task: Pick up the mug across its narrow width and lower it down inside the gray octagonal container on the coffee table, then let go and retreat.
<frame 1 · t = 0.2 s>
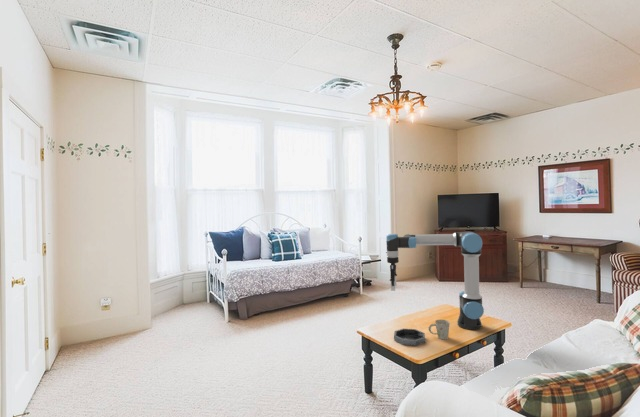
hand: (393, 287, 227), 28 cm above the table, fingers open, 13 cm apart
mug: (439, 337, 209), on the table
gray octagonal container: (409, 339, 209), on the table
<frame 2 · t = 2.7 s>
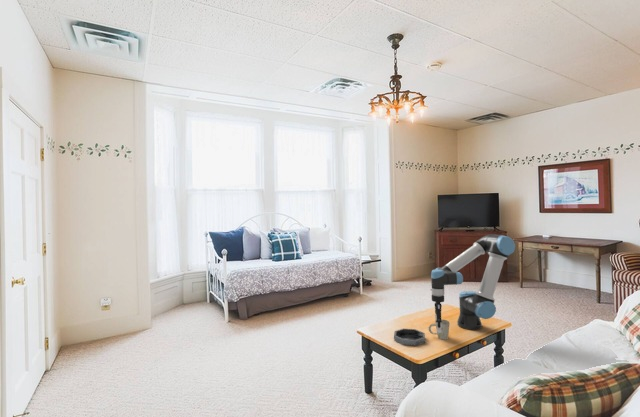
hand: (438, 328, 209), 6 cm above the table, fingers open, 13 cm apart
nothing on the table moved.
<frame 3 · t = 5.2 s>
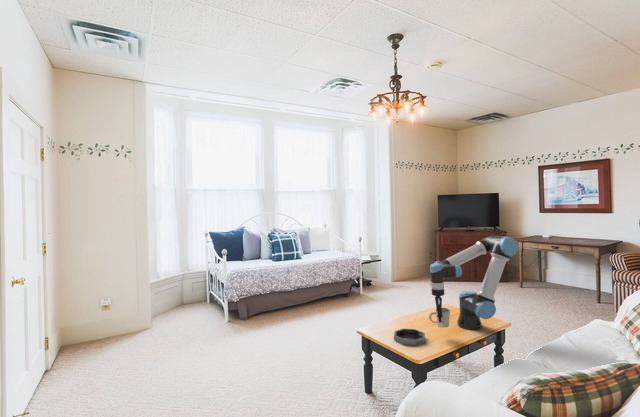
hand: (440, 325, 209), 8 cm above the table, fingers closed on mug, 6 cm apart
mug: (440, 325, 209), point 7 cm above the table, touching gripper
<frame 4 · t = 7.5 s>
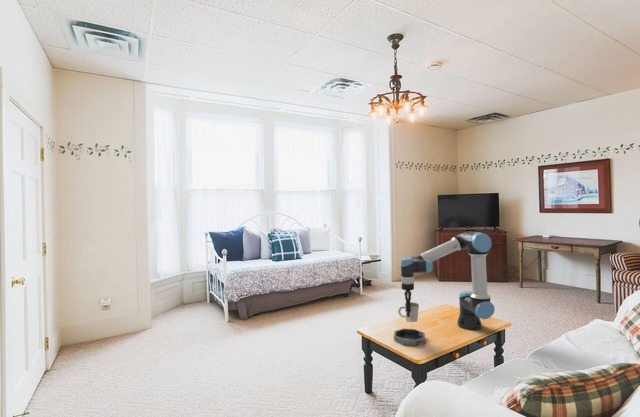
hand: (408, 319, 208), 12 cm above the table, fingers closed on mug, 6 cm apart
mug: (408, 320, 208), point 12 cm above the table, touching gripper
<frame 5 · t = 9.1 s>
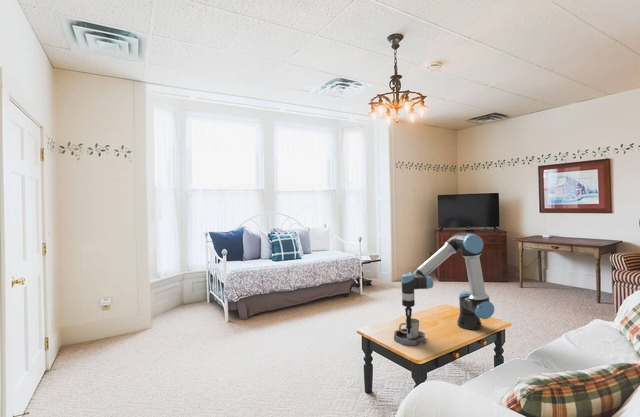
hand: (409, 335, 208), 2 cm above the table, fingers closed on mug, 6 cm apart
mug: (409, 336, 208), point 2 cm above the table, touching gripper
when the fingers open (1 cm above the table, at t = 10.0 s): mug stays where it is, resting on gray octagonal container.
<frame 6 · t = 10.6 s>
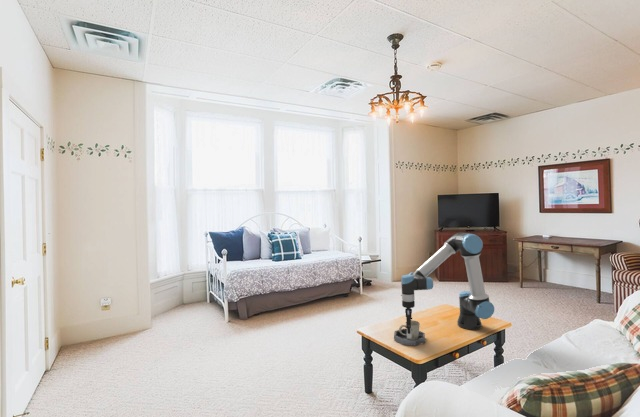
hand: (409, 334, 208), 3 cm above the table, fingers open, 13 cm apart
mug: (409, 338, 208), resting on gray octagonal container
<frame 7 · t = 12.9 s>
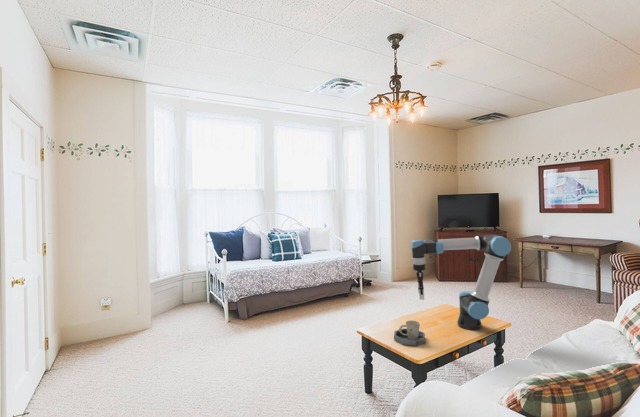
hand: (421, 296, 217), 24 cm above the table, fingers open, 13 cm apart
nothing on the table moved.
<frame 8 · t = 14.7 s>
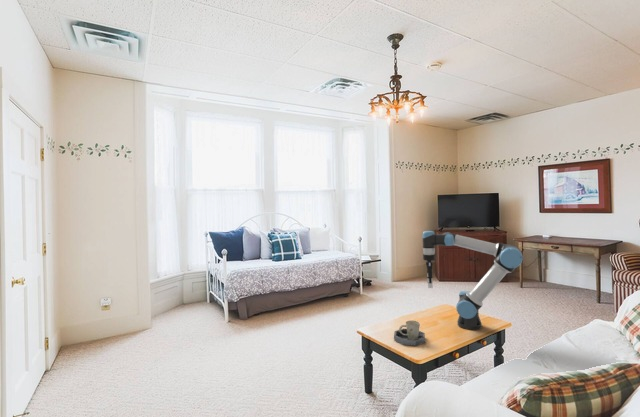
hand: (429, 285, 225), 29 cm above the table, fingers open, 13 cm apart
nothing on the table moved.
at the end: mug inside the target area on the gray octagonal container (0.2 cm from its centre), point 0.2 cm above the gray octagonal container's base; mug tilted 0°; mug touching gray octagonal container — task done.
